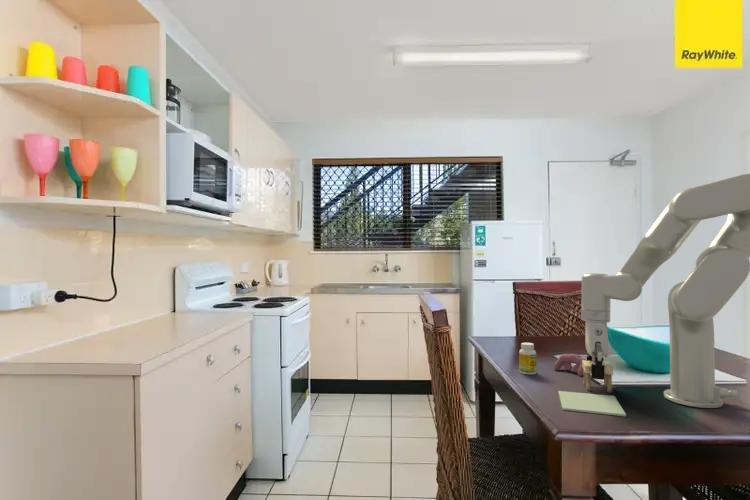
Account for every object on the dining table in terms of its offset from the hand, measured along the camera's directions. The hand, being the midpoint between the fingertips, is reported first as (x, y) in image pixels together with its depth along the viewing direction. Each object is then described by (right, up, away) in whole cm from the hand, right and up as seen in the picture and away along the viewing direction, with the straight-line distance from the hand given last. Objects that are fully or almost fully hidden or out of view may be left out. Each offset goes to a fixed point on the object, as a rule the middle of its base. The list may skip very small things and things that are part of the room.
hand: (595, 374), depth 124 cm
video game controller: (+1, -5, +17) cm, 18 cm away
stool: (+1, -4, 0) cm, 4 cm away
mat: (-8, -4, -13) cm, 16 cm away
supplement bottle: (-14, -5, +16) cm, 22 cm away
